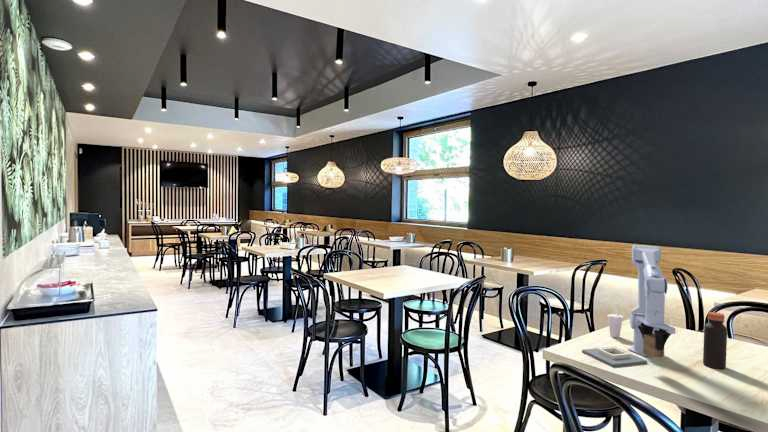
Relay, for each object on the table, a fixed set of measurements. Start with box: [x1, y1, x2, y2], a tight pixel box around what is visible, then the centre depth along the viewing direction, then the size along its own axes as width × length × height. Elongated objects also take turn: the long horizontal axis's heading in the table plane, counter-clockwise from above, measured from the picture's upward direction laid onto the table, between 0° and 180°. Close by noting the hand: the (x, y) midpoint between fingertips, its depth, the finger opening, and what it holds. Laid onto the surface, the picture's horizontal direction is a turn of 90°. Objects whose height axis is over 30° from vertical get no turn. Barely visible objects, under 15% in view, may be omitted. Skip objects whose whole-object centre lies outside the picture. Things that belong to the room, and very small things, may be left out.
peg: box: [643, 334, 665, 358], centre depth 150 cm, size 4×4×7 cm
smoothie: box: [607, 306, 624, 339], centre depth 191 cm, size 6×6×14 cm
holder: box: [581, 346, 648, 368], centre depth 164 cm, size 16×16×2 cm
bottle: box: [702, 311, 728, 370], centre depth 156 cm, size 7×7×20 cm
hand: (653, 347), depth 150 cm, fingers closed on peg, 4 cm apart
